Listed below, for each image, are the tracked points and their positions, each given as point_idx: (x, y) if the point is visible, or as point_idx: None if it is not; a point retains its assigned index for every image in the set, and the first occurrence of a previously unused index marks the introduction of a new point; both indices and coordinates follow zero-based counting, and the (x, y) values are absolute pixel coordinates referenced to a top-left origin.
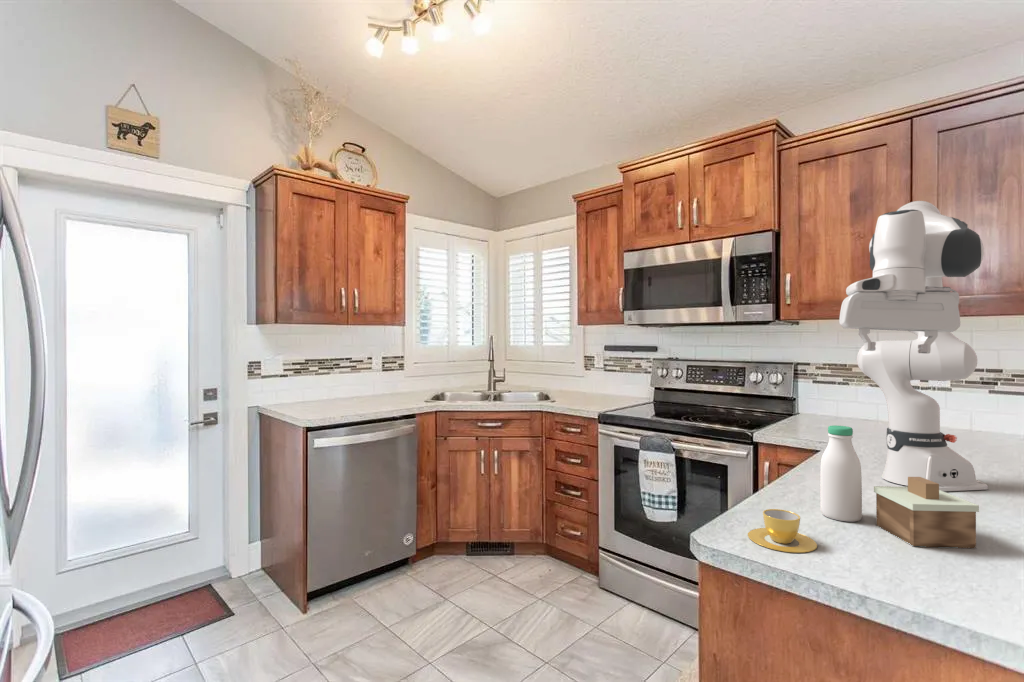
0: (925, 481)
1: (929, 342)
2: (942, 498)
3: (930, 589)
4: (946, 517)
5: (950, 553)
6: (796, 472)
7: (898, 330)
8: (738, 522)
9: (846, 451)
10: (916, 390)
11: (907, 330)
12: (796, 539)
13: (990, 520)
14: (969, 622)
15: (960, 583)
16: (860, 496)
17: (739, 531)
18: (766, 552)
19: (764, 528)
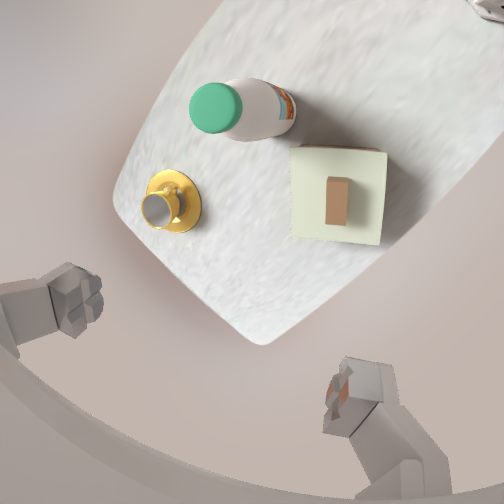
0: (335, 211)
1: (361, 451)
2: (355, 213)
3: (254, 297)
4: None
5: None
6: None
7: (154, 452)
8: (145, 153)
9: (233, 133)
10: None
11: (246, 490)
12: (186, 198)
13: (471, 131)
14: (249, 333)
15: (286, 291)
16: (280, 131)
17: (141, 180)
18: (155, 230)
19: (163, 172)
